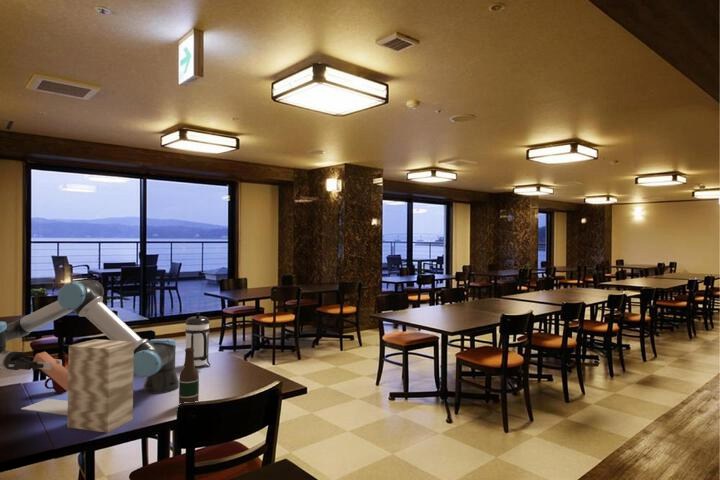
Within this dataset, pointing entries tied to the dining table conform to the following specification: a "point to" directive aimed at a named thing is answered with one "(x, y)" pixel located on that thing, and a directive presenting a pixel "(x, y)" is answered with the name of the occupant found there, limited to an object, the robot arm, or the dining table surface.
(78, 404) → the stand
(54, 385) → the mug
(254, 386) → the dining table surface
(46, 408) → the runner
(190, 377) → the beer bottle
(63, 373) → the pink long bar
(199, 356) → the coffee press
